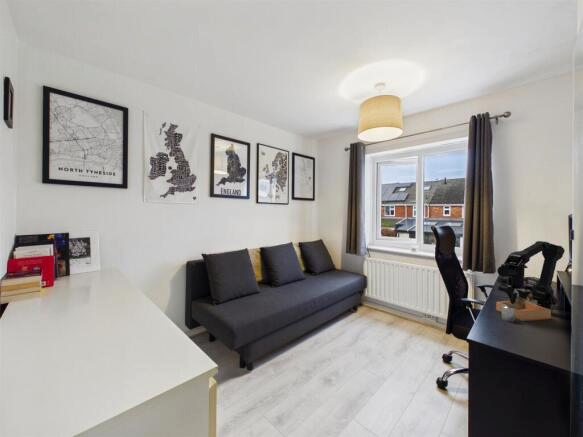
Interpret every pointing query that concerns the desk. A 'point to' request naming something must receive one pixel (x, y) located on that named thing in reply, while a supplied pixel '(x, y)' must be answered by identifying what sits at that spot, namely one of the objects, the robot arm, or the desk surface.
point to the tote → (528, 311)
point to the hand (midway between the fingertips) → (516, 303)
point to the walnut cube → (517, 302)
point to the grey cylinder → (508, 313)
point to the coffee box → (532, 282)
